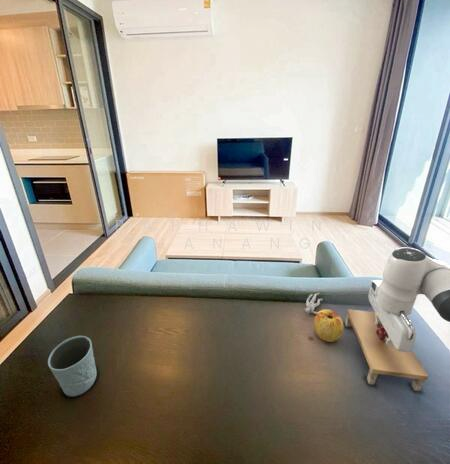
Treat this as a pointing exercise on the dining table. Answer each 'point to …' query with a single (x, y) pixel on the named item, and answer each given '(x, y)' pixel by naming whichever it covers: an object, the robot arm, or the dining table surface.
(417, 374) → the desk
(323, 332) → the apple
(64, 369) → the grey cup
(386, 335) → the dice
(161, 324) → the dining table surface
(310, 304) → the soldier figure
